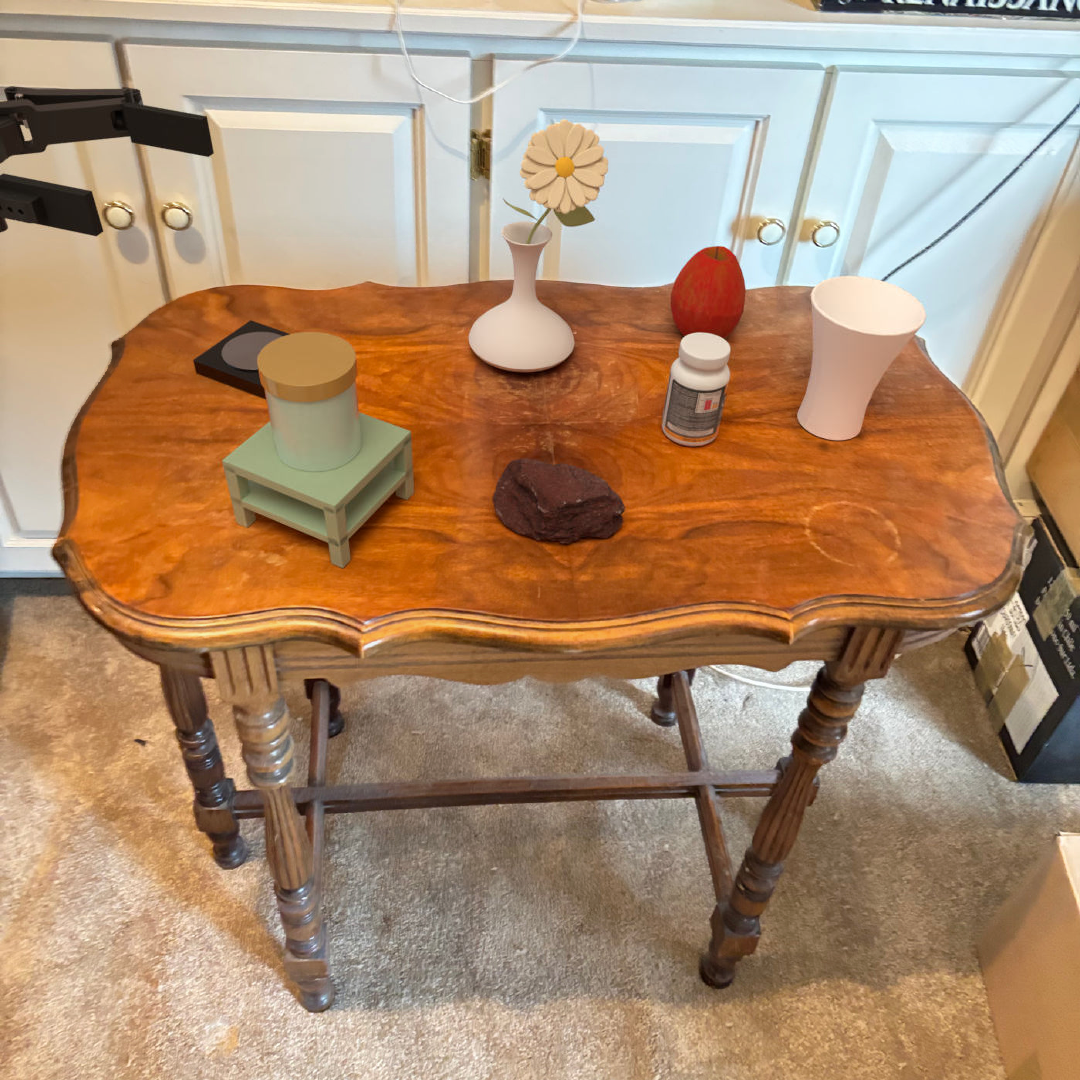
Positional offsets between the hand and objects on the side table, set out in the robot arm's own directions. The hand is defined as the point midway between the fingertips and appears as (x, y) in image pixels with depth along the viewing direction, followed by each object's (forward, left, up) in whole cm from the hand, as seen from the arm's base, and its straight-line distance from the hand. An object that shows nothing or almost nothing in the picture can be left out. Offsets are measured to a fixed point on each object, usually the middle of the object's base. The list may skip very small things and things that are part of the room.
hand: (155, 172), depth 64 cm
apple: (+29, +47, -28) cm, 62 cm away
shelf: (+10, +2, -28) cm, 30 cm away
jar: (+10, +2, -21) cm, 23 cm away
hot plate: (-9, +16, -28) cm, 34 cm away
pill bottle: (+34, +29, -28) cm, 52 cm away
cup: (+46, +38, -28) cm, 66 cm away
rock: (+28, +11, -28) cm, 41 cm away
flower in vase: (+14, +33, -28) cm, 45 cm away
